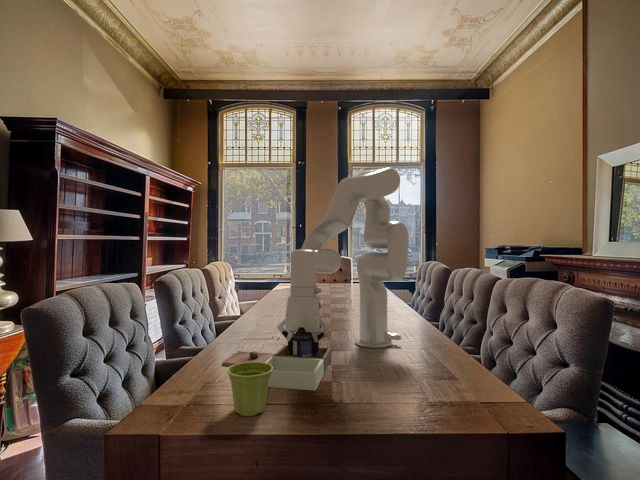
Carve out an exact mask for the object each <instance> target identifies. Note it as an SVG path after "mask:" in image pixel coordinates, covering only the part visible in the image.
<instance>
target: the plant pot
mask: <svg viewBox="0 0 640 480" xmlns="http://www.w3.org/2000/svg"><path fill="white" fill-rule="evenodd" d="M272 371H273V366H272V365H270V364H268V363H263V362H244V363H239V364H235V365H232V366H228V367H227V369H226V373H227V375H228V376H229V380H230V384H231V391H232V398H233V407H234V412H235V413H236V414H239V416H242V417H253V416H256V415H258V414H260V413H263V412H265V409H266V403H267V396H268V395H267V394H268V389H269V387H268V382H269V378H270V375H271V372H272Z"/></svg>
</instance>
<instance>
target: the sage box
mask: <svg viewBox="0 0 640 480" xmlns="http://www.w3.org/2000/svg"><path fill="white" fill-rule="evenodd" d="M265 363H268V364H270V365H272V366H273V371H272V372H271V375H270V378H269V382H268V388H275V389H276V388H277V389H287V390H288V389H290V390H305V391H315V392H316V390H317V389H318V386H319V384H320V383H321V382H322V381H321V380H322V379H323V376H324V375H325V372H324V359H311V358H293V357H276V356H271V357H270V358H269V359H268V360H267V361H266V362H265Z"/></svg>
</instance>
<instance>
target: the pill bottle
mask: <svg viewBox="0 0 640 480" xmlns="http://www.w3.org/2000/svg"><path fill="white" fill-rule="evenodd" d="M313 342H314V339H313V336H312V334H311V333H309V332H305V328H304V327H299V329H298V332H295V333H294V335H293V356H297V357H314V356H312V343H313Z"/></svg>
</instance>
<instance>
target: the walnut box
mask: <svg viewBox="0 0 640 480" xmlns="http://www.w3.org/2000/svg"><path fill="white" fill-rule="evenodd" d="M275 353H276V354H275V355H273V356H276V357H293V358H311V359H324V373H325V372H326V371H327V368H328V366H329V365H330V363H331V361H332V347H331V346H330V347H327V346H319V352H318V353H317V354H316V356H315V357H297V356H293V354H292V355H289V351H288V344H284V345H283V346H282V347H281V348H280V349H279V350H278V351H277V352H275Z"/></svg>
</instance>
